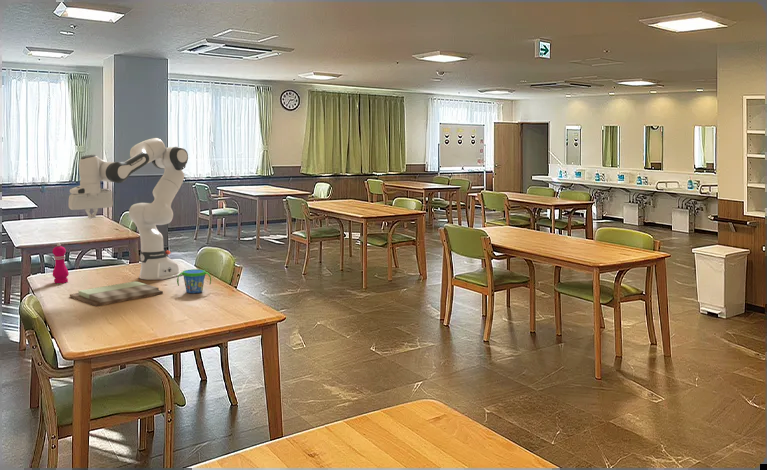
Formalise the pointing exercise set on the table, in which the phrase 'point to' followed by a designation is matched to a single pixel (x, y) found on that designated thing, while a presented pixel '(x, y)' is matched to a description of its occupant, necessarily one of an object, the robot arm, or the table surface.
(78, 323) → the table surface
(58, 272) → the pepper mill
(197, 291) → the snack cup
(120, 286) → the board
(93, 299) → the floor board
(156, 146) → the robot arm
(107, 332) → the table surface
